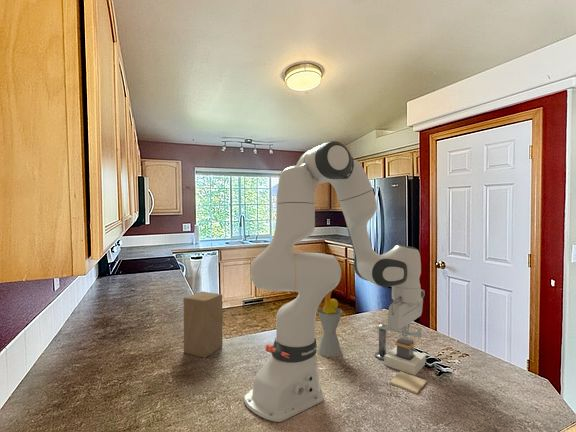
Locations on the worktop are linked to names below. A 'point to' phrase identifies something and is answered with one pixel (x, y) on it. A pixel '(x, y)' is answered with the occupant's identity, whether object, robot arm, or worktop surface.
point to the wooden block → (202, 324)
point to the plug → (405, 348)
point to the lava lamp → (329, 327)
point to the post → (381, 345)
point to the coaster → (408, 382)
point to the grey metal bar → (412, 333)
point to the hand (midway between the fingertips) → (405, 335)
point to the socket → (405, 362)
